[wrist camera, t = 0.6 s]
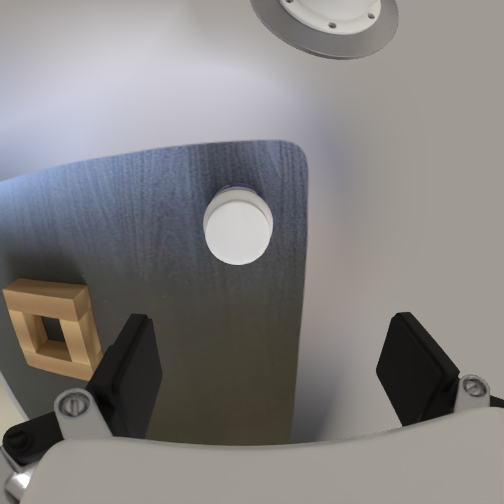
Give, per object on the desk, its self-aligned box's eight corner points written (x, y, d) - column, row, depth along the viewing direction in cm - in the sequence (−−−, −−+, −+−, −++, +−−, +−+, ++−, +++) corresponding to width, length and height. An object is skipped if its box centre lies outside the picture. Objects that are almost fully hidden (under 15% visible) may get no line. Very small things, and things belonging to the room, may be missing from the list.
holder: (18, 277, 32) (2, 289, 28) (87, 285, 33) (72, 299, 29) (40, 351, 36) (28, 365, 32) (105, 364, 37) (96, 382, 33)
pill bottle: (265, 236, 32) (275, 273, 22) (210, 235, 31) (197, 271, 22) (267, 182, 30) (279, 195, 20) (211, 181, 29) (196, 193, 20)
